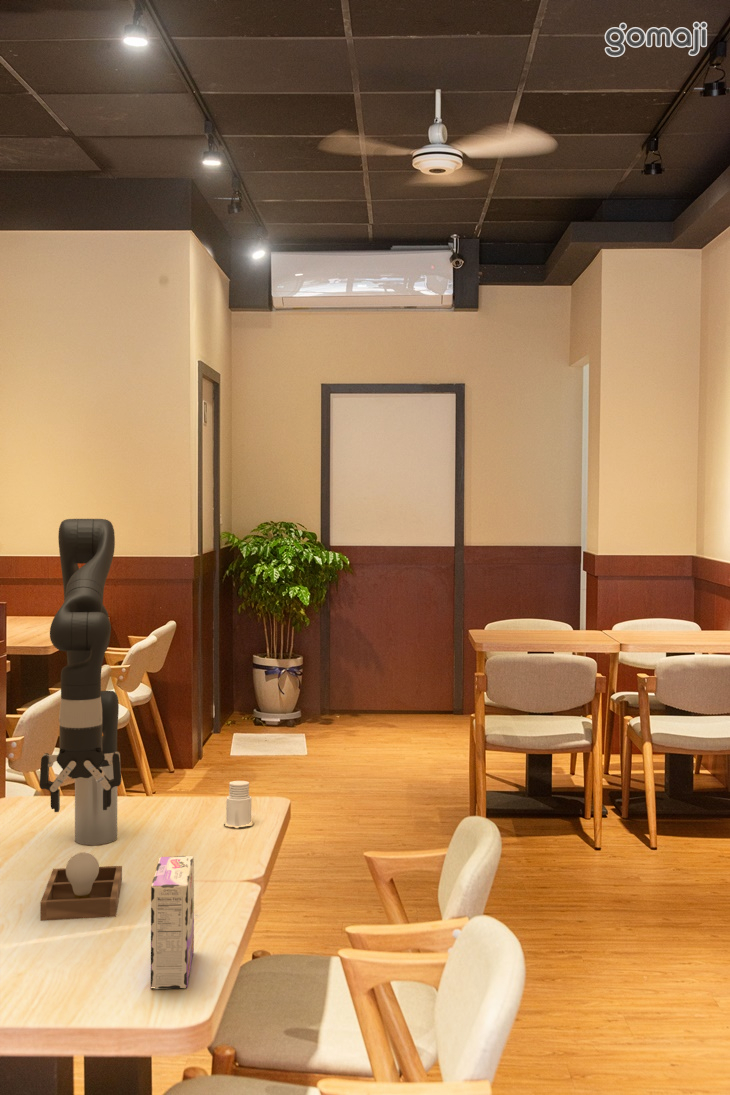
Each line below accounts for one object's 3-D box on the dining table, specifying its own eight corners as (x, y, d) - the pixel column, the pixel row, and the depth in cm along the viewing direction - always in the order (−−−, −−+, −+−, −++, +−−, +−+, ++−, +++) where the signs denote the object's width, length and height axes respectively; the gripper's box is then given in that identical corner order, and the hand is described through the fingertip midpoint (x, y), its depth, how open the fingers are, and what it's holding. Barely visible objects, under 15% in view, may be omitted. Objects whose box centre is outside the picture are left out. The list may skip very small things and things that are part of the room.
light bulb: (89, 914, 191) (90, 859, 191) (59, 911, 192) (59, 856, 192) (104, 903, 197) (104, 849, 196) (74, 900, 198) (75, 846, 198)
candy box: (159, 953, 177) (159, 855, 176) (194, 952, 177) (195, 854, 177) (149, 990, 163) (149, 884, 163) (188, 989, 164) (188, 883, 163)
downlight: (251, 830, 246) (252, 786, 246) (221, 829, 246) (221, 786, 246) (255, 821, 254) (256, 779, 254) (226, 821, 254) (226, 779, 254)
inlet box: (53, 889, 206) (53, 868, 206) (121, 885, 208) (121, 865, 208) (40, 924, 188) (40, 902, 188) (115, 920, 191) (115, 898, 190)
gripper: (122, 716, 198) (122, 802, 199) (43, 718, 196) (43, 805, 196) (119, 725, 191) (119, 814, 191) (37, 727, 188) (37, 817, 189)
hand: (81, 810), depth 194 cm, fingers open, 8 cm apart
